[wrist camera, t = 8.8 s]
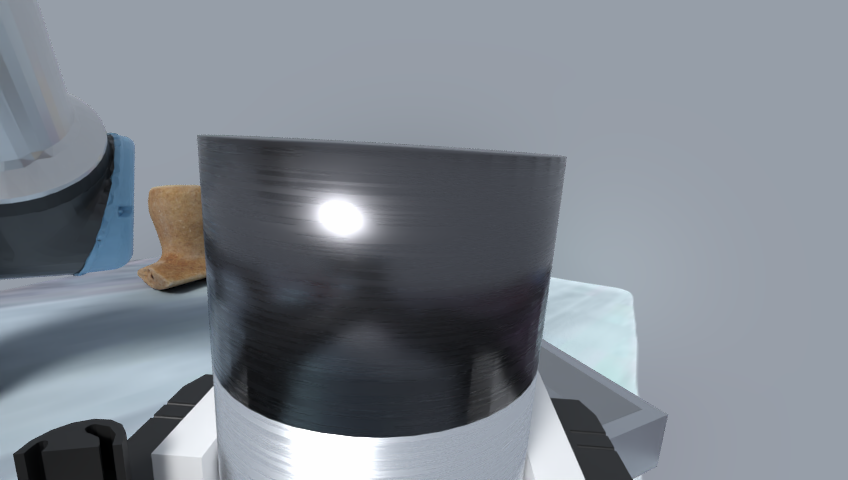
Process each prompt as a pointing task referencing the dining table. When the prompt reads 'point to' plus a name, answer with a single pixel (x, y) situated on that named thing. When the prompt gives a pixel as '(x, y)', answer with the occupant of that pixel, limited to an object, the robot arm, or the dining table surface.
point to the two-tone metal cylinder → (375, 306)
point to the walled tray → (607, 408)
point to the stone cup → (176, 236)
